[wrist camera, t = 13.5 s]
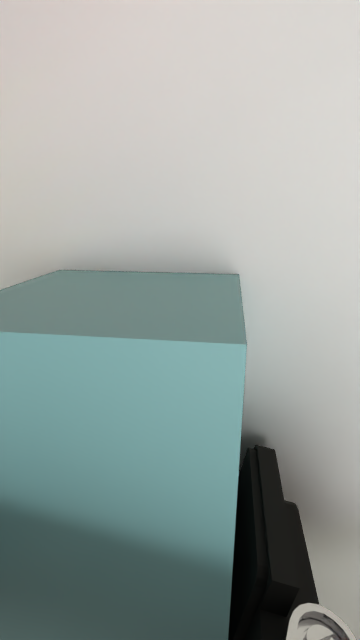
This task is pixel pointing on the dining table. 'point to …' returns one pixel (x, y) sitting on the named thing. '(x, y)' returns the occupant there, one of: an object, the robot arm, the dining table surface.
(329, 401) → the dining table surface
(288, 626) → the robot arm
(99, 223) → the dining table surface
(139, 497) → the teal block
